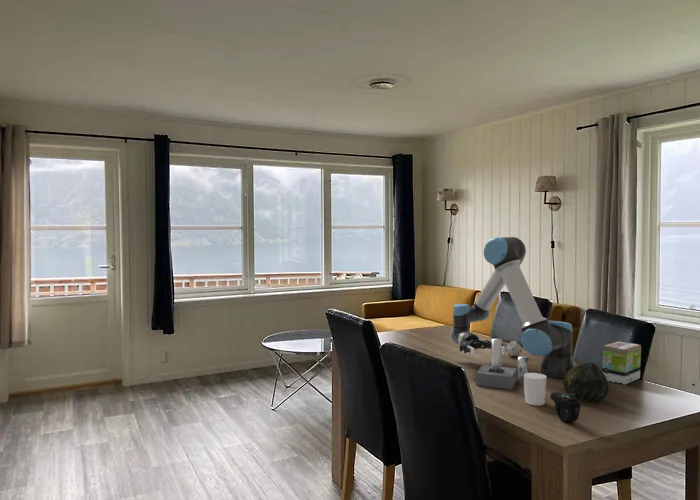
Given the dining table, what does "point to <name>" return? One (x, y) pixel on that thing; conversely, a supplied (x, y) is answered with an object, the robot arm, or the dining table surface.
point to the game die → (513, 348)
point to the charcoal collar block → (496, 377)
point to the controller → (566, 406)
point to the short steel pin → (522, 366)
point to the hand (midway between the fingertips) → (489, 351)
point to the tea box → (621, 362)
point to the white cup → (535, 388)
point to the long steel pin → (496, 355)
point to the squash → (586, 383)
